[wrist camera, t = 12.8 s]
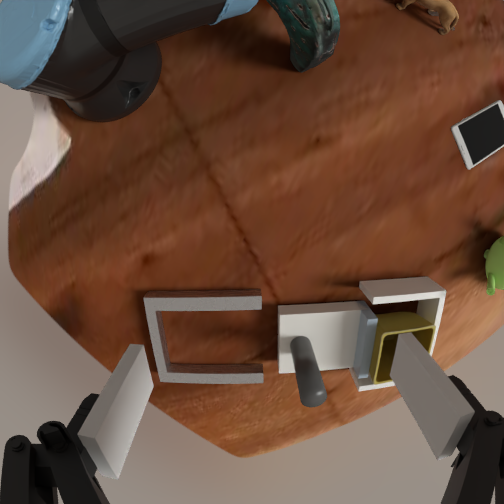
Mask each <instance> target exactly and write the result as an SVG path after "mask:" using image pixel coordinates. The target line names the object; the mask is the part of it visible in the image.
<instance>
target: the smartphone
mask: <svg viewBox="0 0 504 504" xmlns="http://www.w3.org/2000/svg"><path fill="white" fill-rule="evenodd" d="M451 131H452V133H453V136H454V138H455V140H456V143H457V145H458V148H459V150H460V153H461V155H462V158H463V160H464V163H465V165H466V168H467V169H468V170H469V169H471V168H473V167H474V166H476V165H477V164H479V163H480V162H481V161H483V160H484V159H486V158H487V157H489V156H490V155H492V154H493V153H495V152H496V151H497V150H499V149H500V148H502V147H503V146H504V106H503V104H502V102H501V101H500V100H498V101H496V102H494V103H493V104H491V105H489V106H487V107H485V108H484V109H482V110H480V111H478V112H476V113H475V114H473V115H471V116H469V117H467V118H465V119H464V120H462V121H460V122H459V123H457V124H455V125H453V126H452V127H451Z"/></svg>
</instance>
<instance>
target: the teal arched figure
mask: <svg viewBox="0 0 504 504" xmlns="http://www.w3.org/2000/svg"><path fill="white" fill-rule="evenodd" d="M267 2H268V3H269V4H270V5H271V6H272V7H273V9H274V10H275V11H276V12H277V13H278V15H279V17H280V18H281V20H282V22H283V23H284V25H285V27H286V29H287V32H288V35H289V37H290V60H291V62H292V64H293V66H294V67H295V68H296V69H297V70H298V71H299V72H304V71H306V70H308V69H310V68H313V67H316V66H317V65H319V64H320V63H322V62H323V61H325V60H326V59H327V58H329V57H330V56H331V55H333V53H334V47H335V45H336V43H337V41H338V37H339V32H340V20H339V14H338V11H337V8H336V5H335V2H334V0H267Z"/></svg>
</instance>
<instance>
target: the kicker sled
mask: <svg viewBox="0 0 504 504" xmlns="http://www.w3.org/2000/svg"><path fill="white" fill-rule="evenodd" d="M377 322H378V318H377V317H376V315H375V314H374V313H373V312H372V310H371V309H370V308H369V306H368V305H367V304H366V302H365V301H351V302H336V303H320V304H302V305H280V306H278V368H279V373H295V374H296V379H297V384H298V389H299V394H300V399H301V403H302V404H303V405H304V406H307V407H316V406H319V405H321V404H322V403H324V402H325V400H326V398H327V393H326V390H325V387H324V383H323V380H322V377H321V374H320V371H321V370H332V369H342V368H350V367H353V368H354V370H355V373H356V375H357V377H358V379H359V378H367V377H368V373H369V368H370V363H371V358H372V352H373V347H374V341H375V334H376V328H377Z"/></svg>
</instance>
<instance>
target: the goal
mask: <svg viewBox="0 0 504 504" xmlns="http://www.w3.org/2000/svg"><path fill="white" fill-rule="evenodd" d="M359 288H360V289H361V290H362V292H363V293H364V294H365V295H366V297H367V298H368V299H369V300H370V301H371V303H372V304H382V303H393V302H404V301H413V300H419V301H418V307H417V313H416V314H417V315H419V316H421V317H423V318H424V319H426V320H427V321H429V322H431V323H432V324H434V325H435V326H436V329H435V334H434V339H433V342H432V347H431V350H430V355H431V356H432V352H433V349H434V345H435V341H436V337H437V333H438V329H439V324H440V320H441V315H442V311H443V306H444V301H445V296H446V290H445V289H444V288H442V287H441V286H440V285H438V284H437V283H436V282H434V281H433V280H431V279H430V278H429V277H415V278H401V279H386V280H371V281H360V282H359ZM349 371H350V373H351V375H352V377H353V380H354V382H355V384H356V387H357V389H358V391H365V390H371V389H377V388H384V387H389V386H395V384H394V382H393V381H392V382H387V383H382V384H377V385H374V384H373V382H372V379H371V376H370V373H368V377H367V378H359V379H358V377H357V375H356V373H355V370H354V368H353V367H350V368H349Z"/></svg>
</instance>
